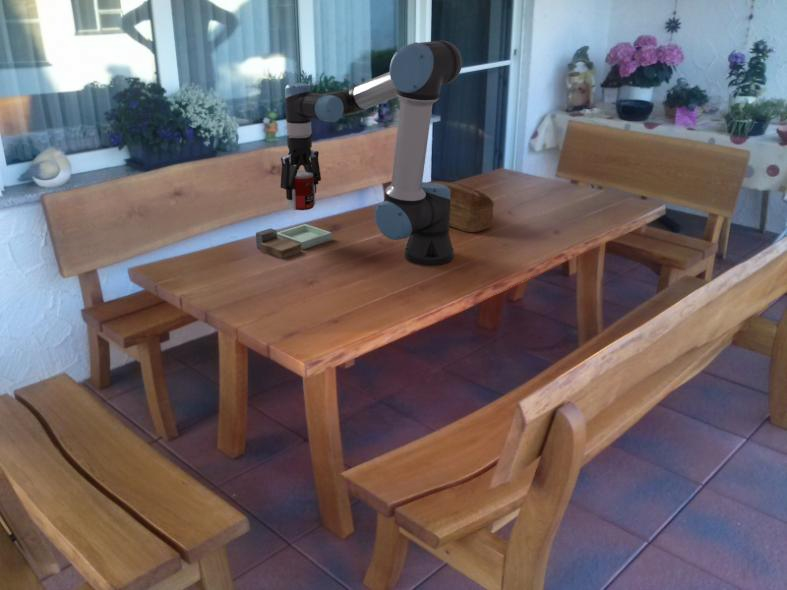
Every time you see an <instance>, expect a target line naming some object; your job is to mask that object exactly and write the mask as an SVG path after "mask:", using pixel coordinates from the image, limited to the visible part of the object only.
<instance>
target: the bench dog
mask: <svg viewBox="0 0 787 590" xmlns="http://www.w3.org/2000/svg"><path fill="white" fill-rule="evenodd" d="M277 232H278V231H277V229H273V228H268V229H264V230H260V231H257V232H255V242H256V248H257V249H259V250H260V243H263V242H266V241H269V240H272V239H275V238H277Z"/></svg>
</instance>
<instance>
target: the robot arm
mask: <svg viewBox="0 0 787 590" xmlns="http://www.w3.org/2000/svg"><path fill="white" fill-rule="evenodd" d="M462 66H463V59H462V55H461V52H460V50H459V49H458V47H456V45H455V44H453V43H451V42H449V41H446V40H440V39H439V40H433V41H423V42H412V43H410V44H406V45H403V46H401V47H400V48H399V49H397V51H395V53H393V56H392V58H391V61H390V64H389V71H388V72H385V73H383V74H381V75H378V76H376V77H374V78H371V79H368V80H367V81H363V82H362V83H360V84H357V85H354V86H352V87H350V88H347V89H342V90H338V91H331V92H327V93H326V92H325V93H316V92H315V93H314V92H311V86H310V85H309V84H308V83H305V82H299V83H298V82H293V83H292V82H291V83H288V84H287V85H286V86H285V92H284V93H285V94H284V101H285V102H284V103H285V115H286V118H285V119H286V121H285V122H286V134H287V135H288V136H287V137H286V140H287V148H288V154H287V155H286V156H281V157H280V161H281V173H280V175H281V176H280V189H283V190H285V193H286V194H285V196H286V200H287V205H288V207H287V208H288V210H292V211H297V210H296V200H295V190H294V189H293V186H294V183H295V176H296V175H297V171H299V169H300V167H301V166H303V169H304V171H306V172H309V173H311V172H312V173H313V178H314V206H315V205H316V194H317V185H319V182H321V181H322V175H321V169H320V163H319V153H320V152H319V151H318V150H315V149H312V147H313V145H312V144H313V143H312V142H313V138H312V136H311V135H312V120H317V121H318V120H319V121H321V122H322V121H323V122H325V123H326V122H327V123H329V122H330V123H335V122H338V121H339V120H340V119H341V118H342V117H345V116H349V115H350V116H351V115H357V114H360V113H362V112H365V111H368V109H371V108H372V107H375V106H378V105H381V104H383V103H386V102H389V101H391V100H393V99H396V98H398V99H399V100H400V104H399V112H398V120H397V121H398V122H397V129H396V139H395V147H394V148H395V149H394V157H393V166H392V176H391V183H390V184H389V185H388V186H387V187H386V188H385V190H384V197H383V201H381V202H380V203H379V204H378V205H377V206H376V207H375V211H374V222H375V224H376V227H377V228H378V229H379V230H380V233H381V234H382V235H383V236H384V237H386V238H388V239H389V240H393V241H400V240H404V239H408V240H407V243H406V246H405V248H404V259H405V260H406V261H408V262H409V263H412V264H415V265H419V266H431V267H432V266H434V267H435V266H442V265H446V264H449V263H451V262H453V260H454V259H455V258H454V256H455V251H454V248H453V243H452V240H451V236H450V226H449V220H450V200H451V198H450V189H449V188H448V187H447V186H445V185H441V184H436V183H428V182H429V181H428V182H424V180H423V179H424V174H425V173H424V171H425V164H426V157H427V150H428V149H427V148H428V141H429V140H428V139H429V135H430V134H429V133H430V127H431V120H432V119H431V117H432V111H433V104H434V103H436V102H437V101H438V100H440V93H441V87H442V86H446V85H449V84H450V83H452V82H454V81H455V80H456V79H457V78H458V77H459V74H460V73H461V71H462ZM289 185H290V186H289Z"/></svg>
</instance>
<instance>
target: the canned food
mask: <svg viewBox="0 0 787 590" xmlns="http://www.w3.org/2000/svg"><path fill="white" fill-rule="evenodd" d="M289 186H290V185H289ZM293 189H294V190H295V200H296V210H295V211H307V210H311V209H313V208H314V207H315V205H314V178H313V173H312V172H311V173H309V172H306V171H305V170H298V171H297V175H296V176H295V183H294V186H293Z"/></svg>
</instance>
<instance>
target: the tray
mask: <svg viewBox="0 0 787 590" xmlns="http://www.w3.org/2000/svg"><path fill="white" fill-rule="evenodd" d="M278 237H280V238H283V239H286V240H289V241H293V242H296V243H299V244H301V251H303V250H305V249H308V248H311V247H315V246H318V245H321V244H325V243H326V242H329V241H332V240H333V233H332V232H331V231H328V230H326V229H325V230H324V229H322V228H319V227H316V226H312V225H311V224H310V225H309V224H307V223H304V224H300V225H298V226H294V227H291V228H287V229H284V230H281V231H277V238H278Z"/></svg>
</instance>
